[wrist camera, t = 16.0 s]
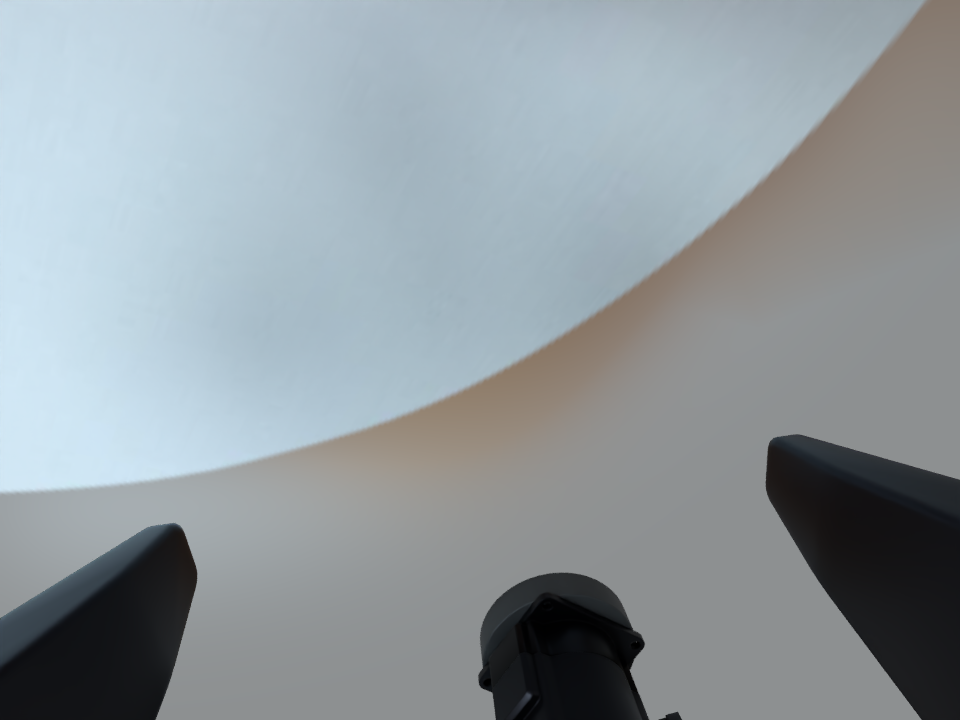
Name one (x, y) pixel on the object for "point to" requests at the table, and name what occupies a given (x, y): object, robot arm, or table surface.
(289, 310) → the table surface
